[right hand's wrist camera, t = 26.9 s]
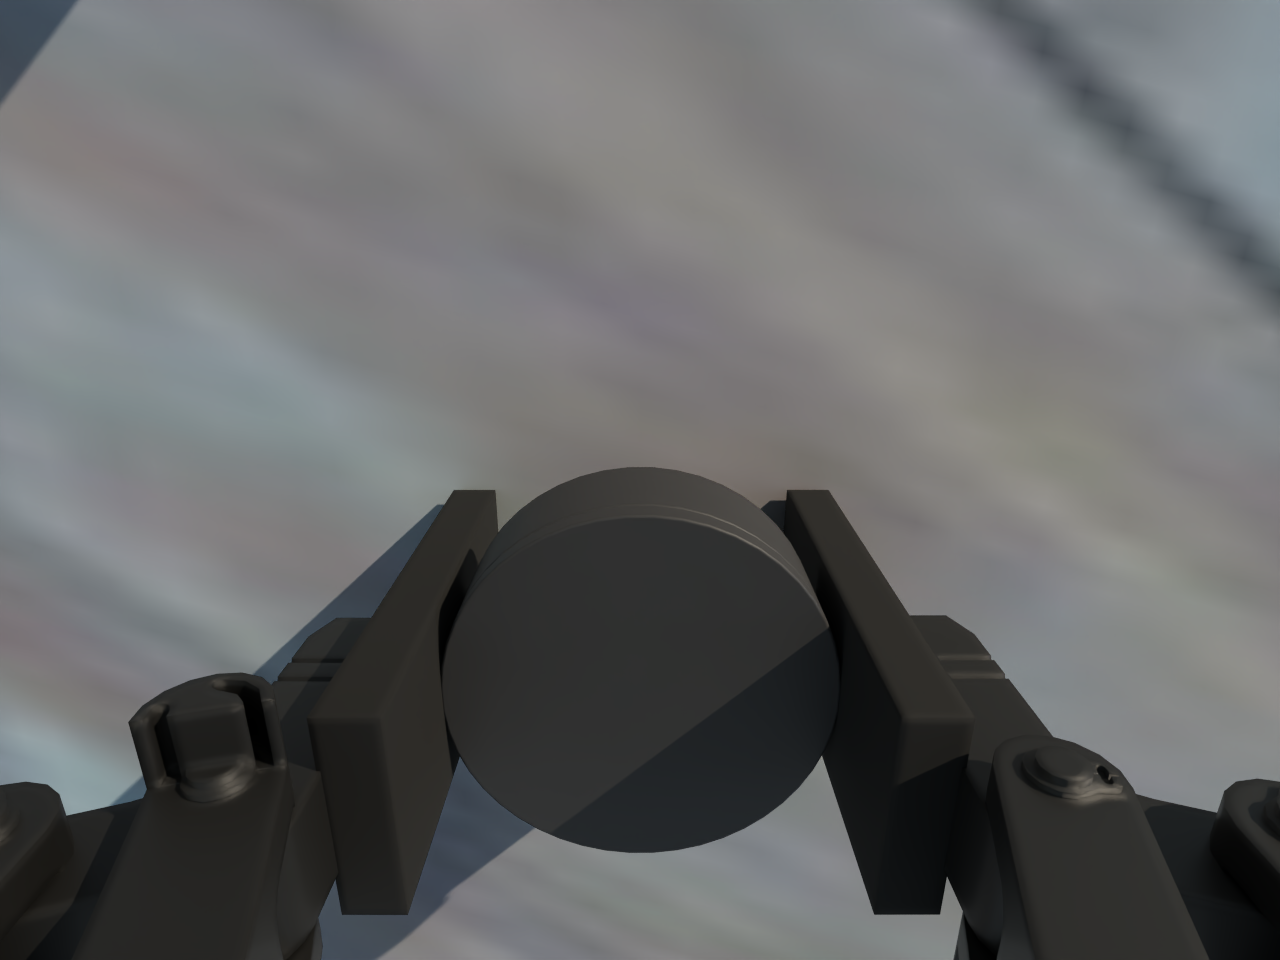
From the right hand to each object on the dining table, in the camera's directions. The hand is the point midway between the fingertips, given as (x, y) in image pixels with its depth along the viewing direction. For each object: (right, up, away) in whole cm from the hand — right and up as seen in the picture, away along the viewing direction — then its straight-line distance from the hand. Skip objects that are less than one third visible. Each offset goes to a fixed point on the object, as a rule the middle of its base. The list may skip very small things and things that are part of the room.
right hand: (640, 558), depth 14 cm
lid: (0, -1, -4) cm, 4 cm away
